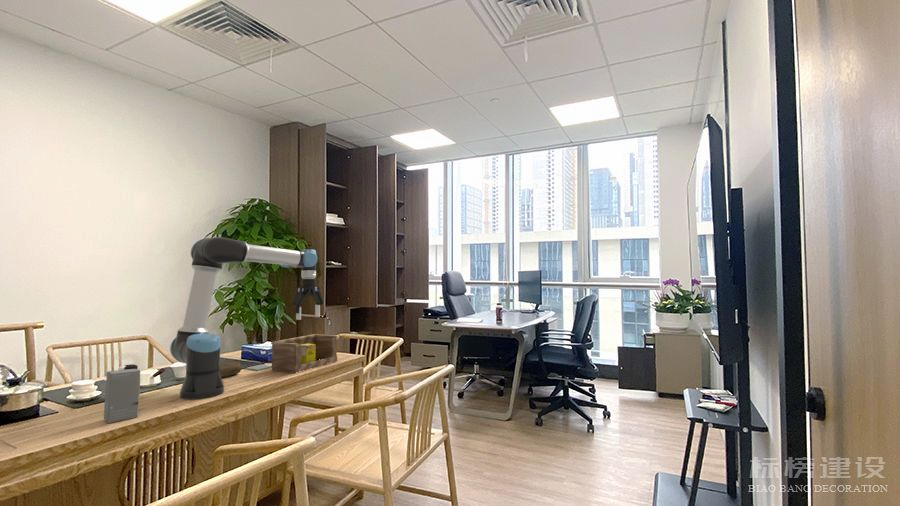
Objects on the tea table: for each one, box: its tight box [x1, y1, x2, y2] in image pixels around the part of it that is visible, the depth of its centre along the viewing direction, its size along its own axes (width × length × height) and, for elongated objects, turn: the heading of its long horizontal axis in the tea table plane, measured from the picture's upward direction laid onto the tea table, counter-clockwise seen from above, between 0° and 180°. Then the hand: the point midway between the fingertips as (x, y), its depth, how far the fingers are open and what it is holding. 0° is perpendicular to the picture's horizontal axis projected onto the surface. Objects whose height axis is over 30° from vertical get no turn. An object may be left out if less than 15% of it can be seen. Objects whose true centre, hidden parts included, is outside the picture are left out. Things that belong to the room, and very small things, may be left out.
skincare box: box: [103, 368, 141, 424], centre depth 137 cm, size 8×7×16 cm
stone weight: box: [219, 361, 242, 379], centre depth 192 cm, size 15×7×7 cm, turn 157°
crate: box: [270, 333, 339, 374], centre depth 216 cm, size 31×16×14 cm, turn 155°
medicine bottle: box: [117, 363, 141, 396], centre depth 162 cm, size 7×7×12 cm
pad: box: [245, 364, 272, 372], centre depth 210 cm, size 9×9×1 cm
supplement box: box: [301, 343, 316, 365], centre depth 217 cm, size 6×6×11 cm
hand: (308, 318), depth 218 cm, fingers open, 13 cm apart
